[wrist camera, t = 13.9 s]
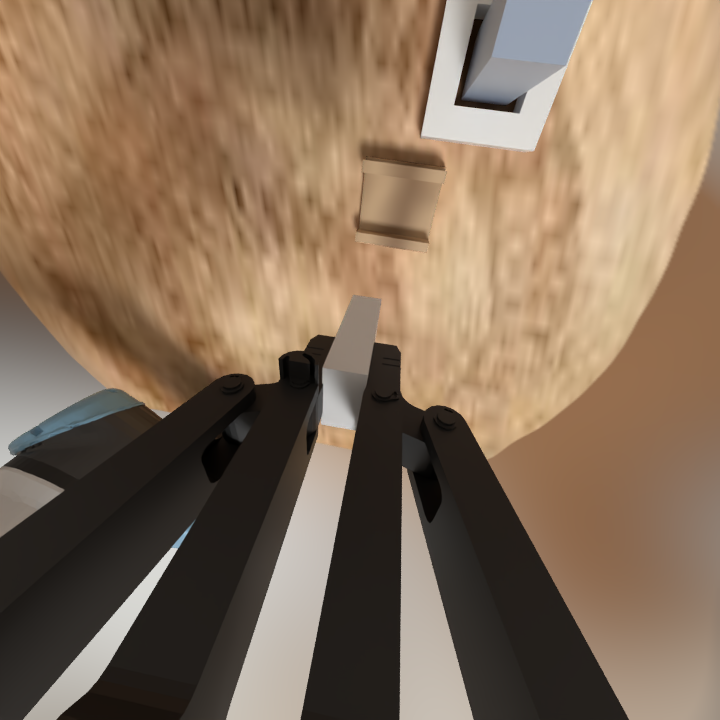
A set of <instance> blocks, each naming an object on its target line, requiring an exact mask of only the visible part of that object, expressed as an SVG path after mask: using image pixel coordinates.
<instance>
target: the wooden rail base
mask: <svg viewBox="0 0 720 720" xmlns="http://www.w3.org/2000/svg"><path fill="white" fill-rule="evenodd" d="M445 170H446V167H439V166H432V165H425V164H418V163H411V162H404V161H397V160H389V159H382V158H375V157H368V156H366V160H363V164H362V172H364V173H365V174H364V183H363V193H362V203H361V213H360V223H359V229H358V230H357V231H356V236H355V242H360V243H366V244H372V245H379V246H385V247H391V248H397V249H404V250H410V251H416V252H422V253H427V250H428V246H429V241H428V239H429V234H430V230H431V226H432V222H433V218H434V214H435V210H436V206H437V202H438V198H439V194H440V190H441V186H442V184H444V182H445V178H446V174H447V171H445Z"/></svg>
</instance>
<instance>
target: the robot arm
mask: <svg viewBox="0 0 720 720" xmlns="http://www.w3.org/2000/svg"><path fill="white" fill-rule="evenodd" d="M380 306H381V299H378V298H371V297H365V296H358V295H353V297H352V299H351V301H350V304H349V306H348V308H347V311H346V313H345V316H344V318H343V320H342V323H341V325H340V327H339V330H338V332H337V335H336V337H330V336H324V335H317V336H315V337H314V338H312V339H311V340H310V342H309V343H308V345H307V348H306V349H305V350H304V351H292V352H288V353H286V354H284V355H282V356H281V357H280V358H279V370H280V380H279V382H277V383H272V384H260V385H255V384H254V381H253V379H252V378H251V377H249V376H248V375H244V374H230V375H226V376H223V377H221V378H219V379H217V380H216V381H214V382H213V383H211V384H210V385H209V386H207V387H206V388H205V389H203V390H202V391H200V392H199V393H198V394H196V395H195V396H194V397H192V398H191V399H189V400H188V401H187V402H185V403H184V404H183V405H181V406H180V407H178V408H177V409H176V410H174V411H173V412H172V413H170V414H169V415H167V416H166V417H165V418H163V419H162V418H161V417H159V416H158V415H157V414H156V413H154V412H153V411H152V410H150V409H149V408H148V407H147V406H145V403H143V402H139V401H138V400H136V399H135V398H133V397H132V396H130V395H129V394H127V393H126V392H124V391H122V390H120V389H114V388H111V389H105V390H102V391H99V392H97V393H95V394H93V395H90V396H88V397H86V398H84V399H82V400H81V401H79V402H77V403H75V404H73V405H71V406H70V407H68V408H66V409H64V410H62V411H60V412H59V413H57V414H55V415H54V416H52V417H50V418H48V419H47V420H45V421H44V422H42V423H40V424H39V425H38V426H36V427H34V428H33V429H31V430H30V431H28V432H26V433H24V434H22V435H21V436H20V437H18V438H17V439H15V440H14V441H12V442H11V443H10V445H9V447H8V449H9V450H10V453H11V454H12V455H17V456H16V457H14V458H13V459H12V460H10V461H9V462H8V463H6V464H5V465H4V466H2V467H1V468H0V720H23V719H24V717H25V716H26V715H27V714H28V713H29V712H30V711H31V709H32V708H33V707H34V706H35V705H36V704H37V702H38V701H39V700H40V699H41V698H42V696H43V695H44V694H45V693H46V692H47V691H48V690H49V689H50V687H51V686H52V685H53V684H54V683H55V682H56V680H57V679H58V678H59V677H60V676H61V675H62V673H63V672H64V671H65V670H66V669H67V668H68V666H69V665H70V664H71V663H72V662H73V660H75V658H76V657H77V656H78V655H79V654H80V653H81V651H82V650H83V649H84V648H85V647H86V646H87V645H88V643H89V642H90V641H91V640H92V639H93V638H94V636H95V635H96V634H97V633H98V632H99V631H100V629H101V628H102V627H103V626H104V625H105V624H106V622H107V621H108V620H109V619H110V618H111V617H112V616H113V614H114V613H115V612H116V611H117V610H118V609H119V607H120V606H121V605H122V604H123V603H124V602H125V600H126V599H127V598H128V597H129V596H130V595H131V594H132V592H133V591H134V590H135V589H136V588H137V586H138V585H139V584H140V583H141V582H142V581H143V580H144V579H145V577H146V576H147V575H148V574H149V572H151V570H152V569H153V568H154V567H155V566H156V565H157V563H158V562H159V561H160V560H161V559H162V557H164V555H165V554H166V553H167V552H168V551H169V550H170V548H178V550H177V551H176V553H175V555H174V556H173V558H172V560H171V561H170V563H169V565H168V566H167V568H166V570H165V572H164V573H163V575H162V577H161V578H160V580H159V581H158V583H157V585H156V586H155V588H154V590H153V591H152V593H151V595H150V596H149V598H148V600H147V601H146V603H145V605H144V606H143V608H142V610H141V611H140V613H139V615H138V616H137V618H136V620H135V621H134V623H133V625H132V626H131V628H130V630H129V631H128V633H127V635H126V636H125V638H124V640H123V641H122V643H121V645H120V646H119V648H118V650H117V651H116V653H115V655H114V656H113V658H112V660H111V661H110V663H109V665H108V666H107V668H106V669H105V671H104V672H103V674H102V675H101V676H100V678H99V679H98V681H97V682H96V683H95V684H94V685H93V687H92V688H91V689H90V690H89V691H88V692H87V693H86V694H85V695H84V696H82V697H81V698H80V699H79V700H78V701H76V702H75V703H74V704H73V705H72V706H71V707H69V708H68V709H67V710H66V711H65V712H64V713H62V714H61V715H60V716H59V717H58V719H57V720H226V717H227V713H228V710H229V707H230V703H231V700H232V697H233V694H234V691H235V688H236V685H237V682H238V679H239V676H240V673H241V670H242V666H243V663H244V660H245V657H246V654H247V651H248V648H249V645H250V642H251V639H252V636H253V633H254V630H255V627H256V624H257V621H258V617H259V614H260V611H261V608H262V605H263V602H264V599H265V596H266V593H267V590H268V587H269V584H270V581H271V578H272V575H273V572H274V569H275V565H276V562H277V559H278V556H279V553H280V550H281V547H282V544H283V541H284V538H285V535H286V532H287V529H288V526H289V523H290V519H291V516H292V513H293V510H294V507H295V504H296V501H297V498H298V495H299V492H300V488H301V486H302V482H303V480H304V477H305V474H306V470H307V467H308V464H309V461H310V458H311V455H312V452H313V449H314V446H315V443H316V440H317V437H318V425H319V422H320V419H321V424H322V425H328V426H333V427H339V428H345V429H351V430H356V433H355V438H354V443H353V449H352V454H351V459H350V464H349V470H348V475H347V480H346V485H345V491H344V496H343V501H342V506H341V511H340V517H339V522H338V528H337V532H336V538H335V543H334V548H333V553H332V558H331V564H330V569H329V574H328V579H327V585H326V590H325V595H324V600H323V605H322V611H321V616H320V621H319V626H318V632H317V637H316V642H315V647H314V653H313V658H312V663H311V668H310V674H309V679H308V684H307V689H306V694H305V699H304V705H303V710H302V715H301V720H399V713H400V712H399V710H400V613H401V516H402V510H401V509H402V466H403V467H405V468H407V472H408V475H409V479H410V483H411V487H412V490H413V494H414V498H415V502H416V505H417V509H418V513H419V517H420V520H421V524H422V528H423V532H424V535H425V539H426V543H427V547H428V550H429V554H430V558H431V561H432V565H433V569H434V573H435V576H436V580H437V584H438V588H439V591H440V595H441V599H442V602H443V606H444V610H445V614H446V618H447V621H448V625H449V629H450V633H451V636H452V640H453V643H454V647H455V651H456V654H457V659H458V662H459V666H460V670H461V674H462V677H463V681H464V684H465V689H466V692H467V696H468V700H469V704H470V707H471V711H472V715H473V719H474V720H629V719H628V717H627V715H626V713H625V711H624V710H623V708H622V706H621V704H620V702H619V700H618V699H617V697H616V695H615V693H614V691H613V690H612V688H611V686H610V684H609V682H608V681H607V678H606V677H605V675H604V673H603V671H602V669H601V668H600V666H599V664H598V662H597V660H596V659H595V657H594V655H593V653H592V651H591V649H590V647H589V646H588V644H587V642H586V640H585V638H584V636H583V635H582V633H581V631H580V629H579V627H578V626H577V624H576V622H575V620H574V618H573V616H572V615H571V613H570V611H569V609H568V607H567V605H566V604H565V602H564V600H563V598H562V596H561V594H560V593H559V591H558V589H557V587H556V586H555V583H554V582H553V580H552V578H551V576H550V574H549V573H548V571H547V569H546V567H545V565H544V563H543V562H542V560H541V558H540V556H539V554H538V552H537V551H536V549H535V547H534V545H533V543H532V541H531V540H530V538H529V536H528V534H527V532H526V530H525V529H524V527H523V525H522V523H521V522H520V520H519V518H518V516H517V514H516V512H515V510H514V509H513V507H512V505H511V503H510V501H509V499H508V498H507V496H506V494H505V492H504V491H503V489H502V487H501V485H500V483H499V481H498V479H497V478H496V476H495V474H494V472H493V470H492V469H491V467H490V465H489V463H488V461H487V459H486V457H485V456H484V454H483V452H482V450H481V448H480V446H479V445H478V443H477V441H476V439H475V437H474V435H473V434H472V432H471V430H470V428H469V426H468V425H467V423H466V421H465V420H464V418H463V417H462V416H461V414H459V413H458V412H456V411H455V410H453V409H451V408H448V407H446V406H439V405H437V406H431V407H430V408H428V409H427V410H426V411H424V410H421V409H419V408H416V407H414V406H413V405H411V404H409V403H408V402H407V401H406V400H405V399H404V398H403V397H402V394H401V392H400V370H401V368H400V366H401V362H400V361H401V352H400V351H399V349H398V348H397V346H394V345H388V344H381V343H375V339H376V332H377V325H378V319H379V312H380Z"/></svg>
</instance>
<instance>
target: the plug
mask: <svg viewBox="0 0 720 720" xmlns="http://www.w3.org/2000/svg"><path fill="white" fill-rule="evenodd" d="M590 3H591V0H493V1H492V3H491V6H490V8H489V10H488V12H487V14H486V16H485V18H484V20H483V22H482V24H481V27H480V29H479V31H478V33H477V36H476V40H475V44H474V48H473V53H472V57H471V61H470V65H469V69H468V73H467V77H466V81H465V85H464V90H463V94H462V98H461V100H464V101H472V102H480V103H488V104H496V105H504V106H506V105H507V104H509V103H510V102H512V101H513V100H515V99H516V98H518V97H519V96H521V95H522V94H524V93H525V92H527V91H528V90H530V89H532V88H533V87H535V86H536V85H538V84H539V83H541V82H542V81H544V80H545V79H547V78H548V77H550V76H551V75H553V74H554V73H556V72H557V71H559V70H560V69H562V68H563V67H565V66H566V64H567V62H568V59H569V56H570V54H571V51H572V49H573V46H574V44H575V41H576V39H577V36H578V33H579V31H580V28H581V26H582V23H583V21H584V18H585V15H586V13H587V10H588V8H589V5H590Z"/></svg>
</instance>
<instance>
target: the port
mask: <svg viewBox="0 0 720 720" xmlns="http://www.w3.org/2000/svg"><path fill="white" fill-rule="evenodd" d="M492 1H493V0H447V2H446V7H445V12H444V18H443V23H442V28H441V33H440V39H439V44H438V49H437V54H436V60H435V65H434V70H433V75H432V81H431V86H430V91H429V96H428V102H427V107H426V112H425V117H424V122H423V128H422V133H421V138H423V139H430V140H437V141H445V142H452V143H460V144H467V145H475V146H482V147H489V148H497V149H504V150H512V151H519V152H530V151H534V150H535V147H536V144H537V142H538V139H539V137H540V134H541V132H542V129H543V127H544V124H545V121H546V119H547V116H548V114H549V111H550V109H551V106H552V104H553V101H554V98H555V96H556V93H557V91H558V88H559V86H560V83H561V81H562V78H563V76H564V73H565V70H566V68H567V65H568V63H569V60H570V58H571V55H572V53H573V50H574V47H575V45H576V42H577V40H578V37H579V35H580V32H581V30H582V27H583V25H584V22H585V19H586V17H587V14H588V12H589V9H590V7H591V4H592V2H593V0H591V3H590V5H589V8H588V10H587V13H586V15H585V18H584V21H583V23H582V26H581V28H580V31H579V33H578V36H577V39H576V41H575V44H574V46H573V49H572V51H571V54H570V56H569V59H568V62H567V64H566V66H565V67H563V68H562V69H560V70H559V71H557V72H556V73H554V74H553V75H551V76H550V77H548V78H547V79H545V80H544V81H542V82H541V83H539V84H538V85H536V86H535V87H533V88H532V89H530V90H528V91H527V92H525V93H524V94H522V95H521V96H519V97H518V99H517V102H516V105H515V108H514V111H513V113H511V112H503V111H495V110H487V109H479V108H471V107H463V106H455V105H454V103H455V98H456V94H457V90H458V86H459V81H460V77H461V73H462V69H463V64H464V60H465V56H466V52H467V47H468V43H469V39H470V34H471V30H472V26H473V22H474V19H481V20H484V18H485V16H486V14H487V12H488V10H489V8H490V6H491V3H492Z"/></svg>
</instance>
